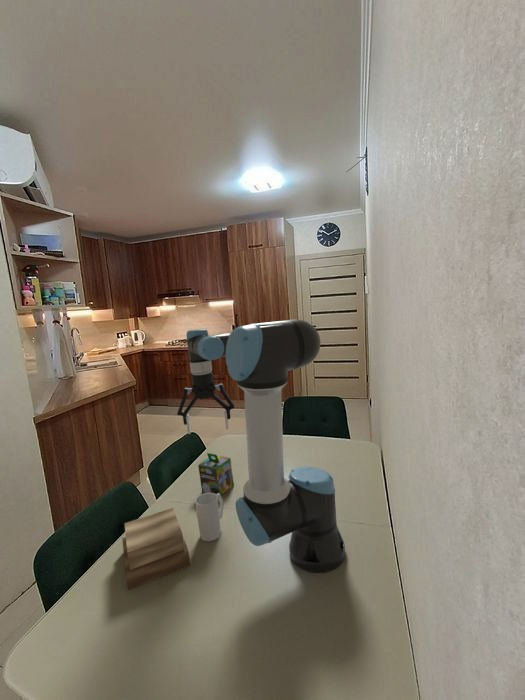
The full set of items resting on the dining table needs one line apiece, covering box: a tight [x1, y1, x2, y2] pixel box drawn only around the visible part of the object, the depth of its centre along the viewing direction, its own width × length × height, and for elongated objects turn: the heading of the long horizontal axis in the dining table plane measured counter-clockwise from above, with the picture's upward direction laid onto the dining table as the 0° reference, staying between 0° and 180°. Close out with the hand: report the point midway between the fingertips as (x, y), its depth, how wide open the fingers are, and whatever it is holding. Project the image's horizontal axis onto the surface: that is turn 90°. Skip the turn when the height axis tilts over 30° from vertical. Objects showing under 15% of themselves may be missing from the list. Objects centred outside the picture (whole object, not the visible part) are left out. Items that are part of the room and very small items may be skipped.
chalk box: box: [198, 452, 235, 497], centre depth 132 cm, size 9×9×15 cm
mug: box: [194, 493, 224, 542], centre depth 107 cm, size 10×7×12 cm, turn 144°
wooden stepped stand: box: [121, 536, 191, 591], centre depth 98 cm, size 16×16×5 cm
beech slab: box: [124, 507, 184, 570], centre depth 98 cm, size 14×14×5 cm
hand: (208, 430), depth 125 cm, fingers open, 13 cm apart
